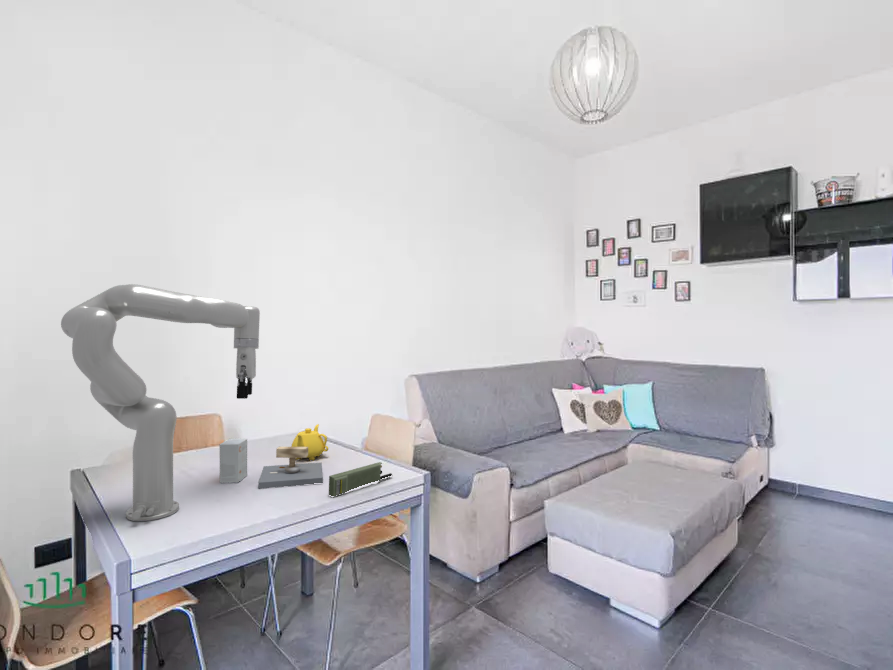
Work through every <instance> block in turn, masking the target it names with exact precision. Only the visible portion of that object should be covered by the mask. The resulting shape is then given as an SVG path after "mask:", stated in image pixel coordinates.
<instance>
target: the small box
mask: <svg viewBox="0 0 893 670" xmlns="http://www.w3.org/2000/svg"><path fill="white" fill-rule="evenodd" d="M245 476H246V477H247V476H248V438H228V439H227V440H224V441H223V442H222V443H220V444H219V484H232V483H231V482H239V481H240V482H241V481H243V479H245V478H246V477H245ZM244 477H245V478H244ZM222 482H223V483H222ZM228 482H229V483H228ZM240 482H239V483H240Z"/></svg>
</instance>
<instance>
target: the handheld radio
mask: <svg viewBox="0 0 893 670" xmlns="http://www.w3.org/2000/svg"><path fill="white" fill-rule="evenodd" d="M382 464H383V463H382V462H381V461H379V462H374V463H372V464H369V465H364V466H361V467H357V468H354V469H350V470H345V471H342V472H338V473H335V474H332V475H329V476H328V496H329V495H331V496H336V495H339V494H342V493H345V492H347V491H349V490H351V489H354V488H357V487H359V486H362V485H365V484H368V483H371V482H375V481H378V480H380V479H382V478H385V477H388V476H391V475H392V476H393V473H392V472H389V473H387V474H384V475H383V471H382V467H383V465H382ZM382 480H383V479H382ZM380 481H381V480H380Z"/></svg>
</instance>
